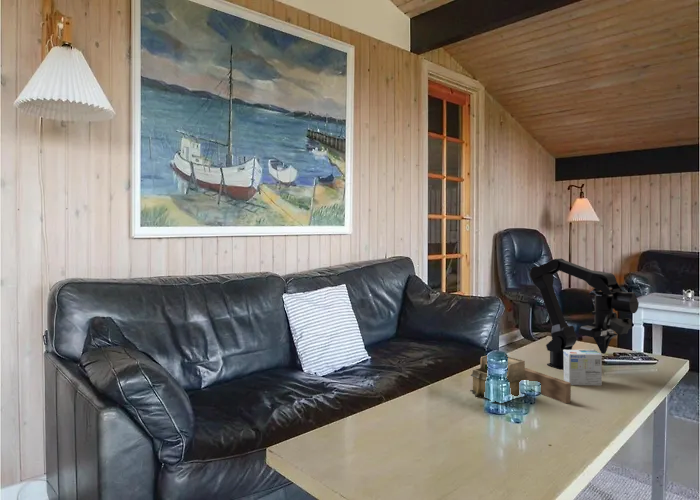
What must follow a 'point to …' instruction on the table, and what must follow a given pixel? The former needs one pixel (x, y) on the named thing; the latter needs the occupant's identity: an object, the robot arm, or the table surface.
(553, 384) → the wall
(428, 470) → the table surface
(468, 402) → the table surface
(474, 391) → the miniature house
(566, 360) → the light bulb box
